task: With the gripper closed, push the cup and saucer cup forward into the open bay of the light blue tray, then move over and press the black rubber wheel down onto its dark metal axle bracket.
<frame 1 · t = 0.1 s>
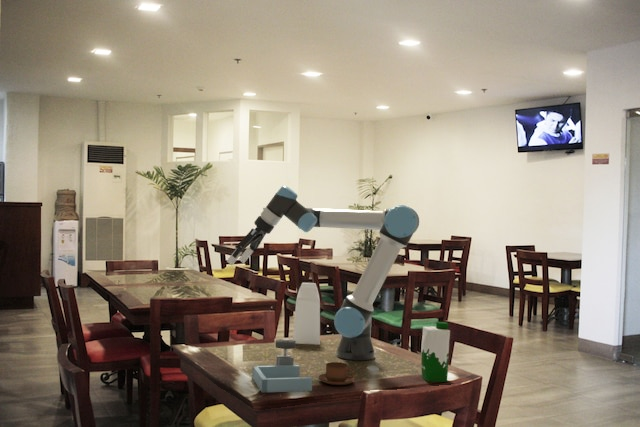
hand: (235, 262, 251), 36 cm above the table, tool tilted 35°, fingers open, 13 cm apart
milk: (306, 341, 281), on the table
cup and saucer: (336, 383, 212), on the table
light blue tray: (281, 384, 206), on the table
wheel: (285, 347, 220), point 9 cm above the table, slide at 0.0 cm
milk carton: (434, 380, 222), on the table
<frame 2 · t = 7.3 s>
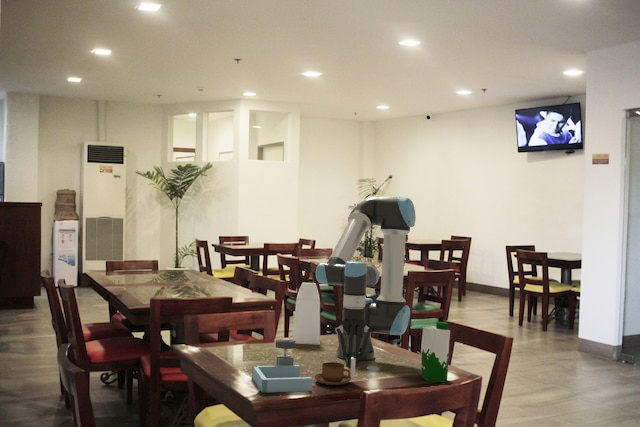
hand: (351, 377, 213), 2 cm above the table, tool pointing down, fingers closed
cup and saucer: (332, 383, 211), on the table, touching gripper
everything else where it was.
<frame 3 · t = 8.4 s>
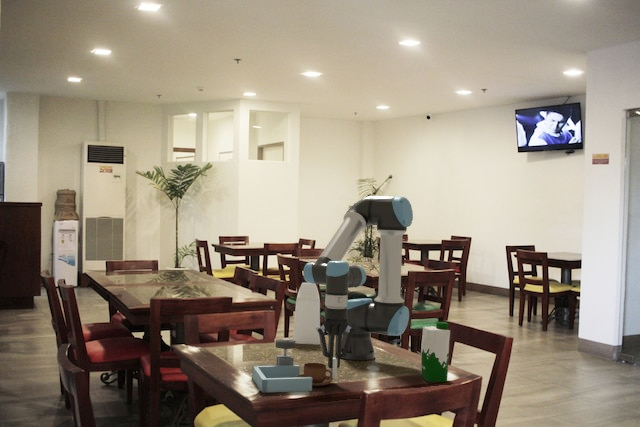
hand: (333, 377, 211), 2 cm above the table, tool pointing down, fingers closed
cup and saucer: (314, 384, 209), on the table, touching gripper
everything else where it was.
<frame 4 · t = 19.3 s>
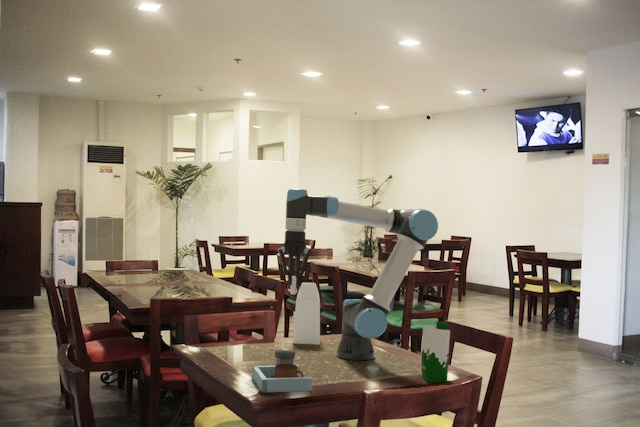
hand: (292, 293, 234), 26 cm above the table, tool pointing down, fingers closed
cup and saucer: (285, 385, 206), on the table
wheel: (284, 357, 220), point 6 cm above the table, slide at 3.5 cm, touching light blue tray
everything else where it was.
at the end: cup and saucer inside the target area (1.5 cm from its centre), on the table; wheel slide at 3.5 cm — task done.
